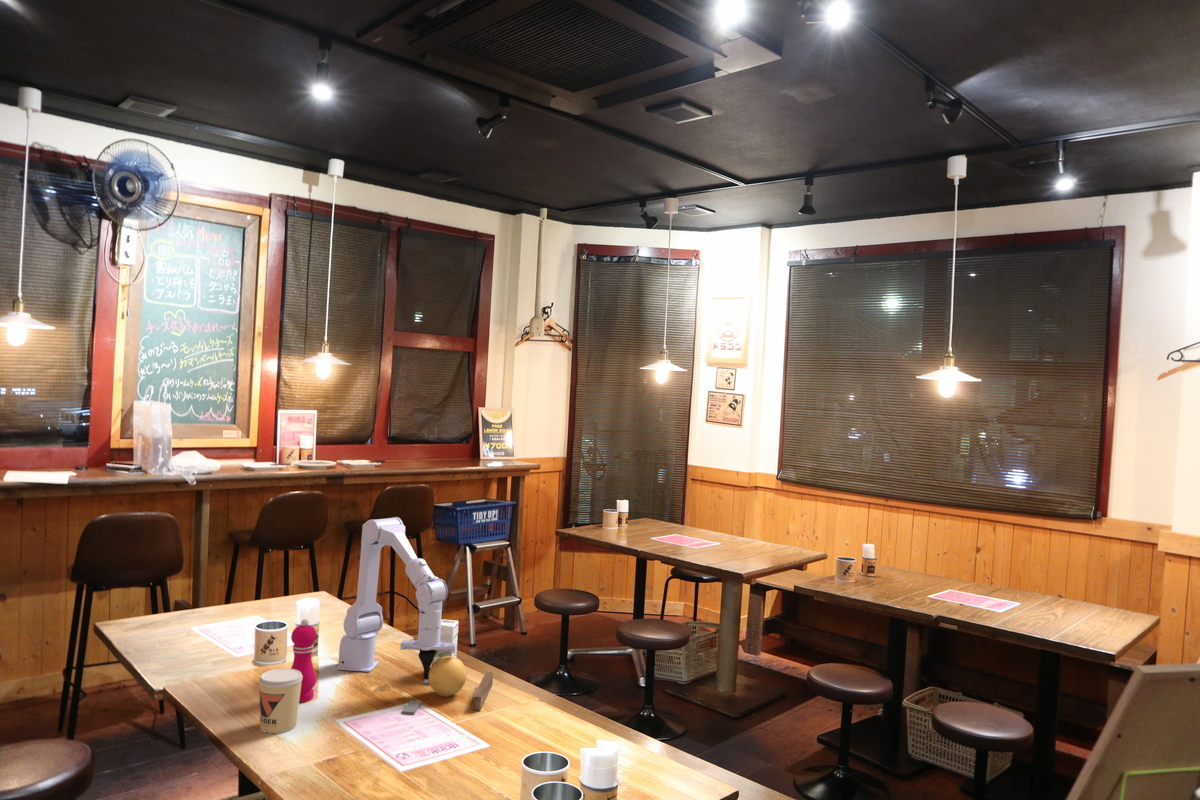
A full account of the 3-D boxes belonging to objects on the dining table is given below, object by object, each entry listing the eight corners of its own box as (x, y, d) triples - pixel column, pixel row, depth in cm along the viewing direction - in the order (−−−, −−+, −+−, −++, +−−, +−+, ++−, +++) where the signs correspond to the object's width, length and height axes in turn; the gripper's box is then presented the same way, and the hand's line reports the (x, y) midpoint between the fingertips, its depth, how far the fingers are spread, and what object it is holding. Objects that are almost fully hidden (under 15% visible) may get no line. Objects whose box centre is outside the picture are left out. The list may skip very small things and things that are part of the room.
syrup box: (456, 670, 224) (459, 619, 224) (450, 677, 218) (453, 625, 219) (437, 668, 225) (440, 618, 225) (430, 675, 219) (433, 623, 219)
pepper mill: (305, 705, 193) (309, 624, 194) (278, 701, 195) (283, 621, 195) (321, 695, 201) (325, 617, 201) (295, 691, 202) (300, 614, 202)
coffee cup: (247, 728, 179) (250, 676, 179) (281, 715, 187) (283, 665, 187) (275, 738, 174) (278, 685, 174) (308, 724, 183) (311, 673, 183)
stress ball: (468, 699, 206) (464, 665, 213) (468, 680, 200) (464, 645, 207) (430, 705, 204) (427, 671, 211) (428, 686, 197) (425, 651, 205)
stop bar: (472, 710, 196) (473, 696, 196) (485, 684, 214) (485, 671, 214) (480, 710, 196) (481, 697, 196) (492, 685, 214) (493, 672, 214)
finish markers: (401, 713, 192) (402, 711, 192) (426, 679, 216) (426, 677, 216) (413, 714, 192) (414, 712, 192) (437, 679, 216) (437, 677, 216)
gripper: (398, 629, 202) (395, 681, 202) (453, 632, 201) (450, 685, 201) (405, 621, 209) (402, 672, 209) (459, 625, 209) (456, 675, 208)
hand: (426, 678), depth 206 cm, fingers closed, pressing on stress ball
